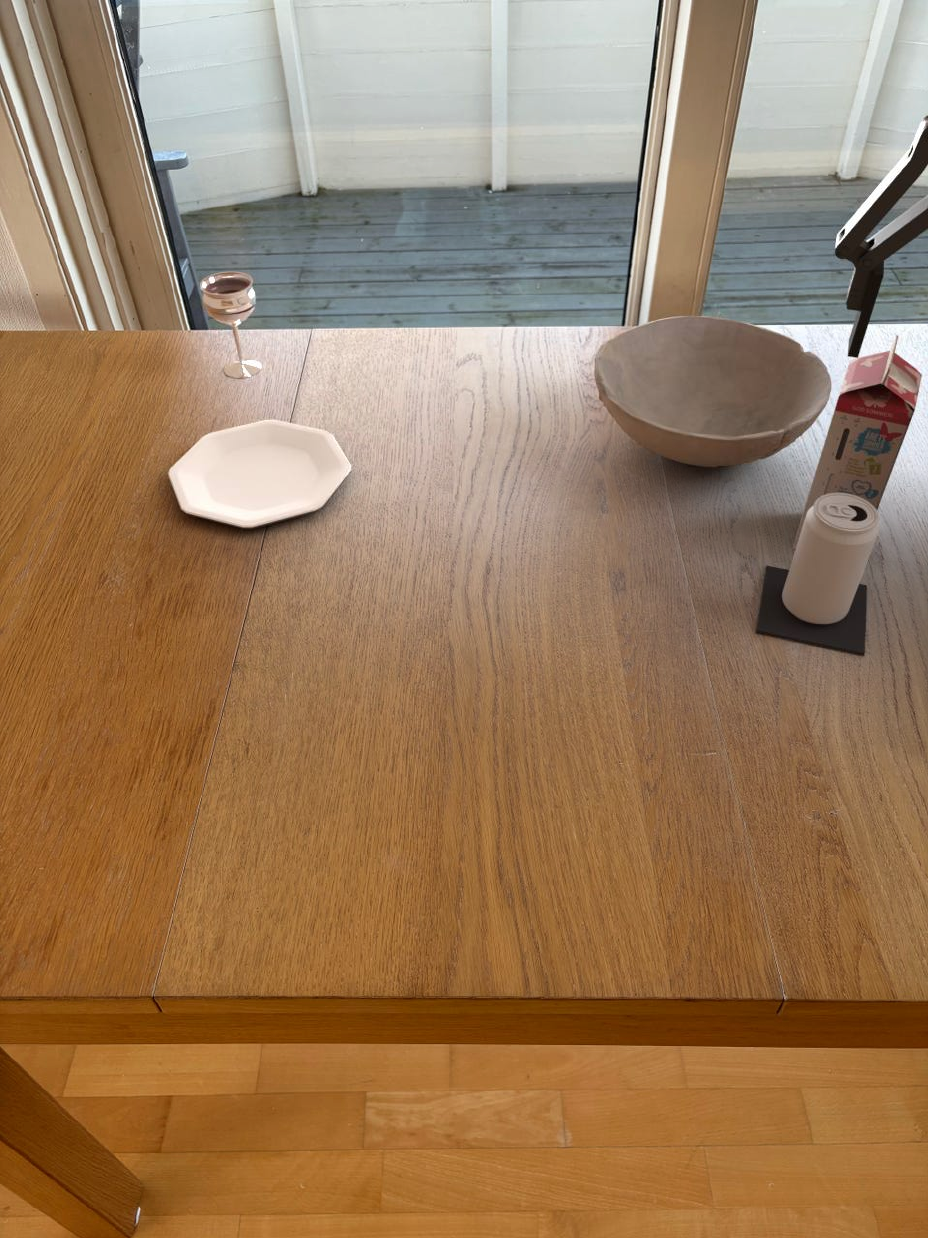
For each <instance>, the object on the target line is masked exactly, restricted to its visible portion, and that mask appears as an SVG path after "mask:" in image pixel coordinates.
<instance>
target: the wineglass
mask: <svg viewBox="0 0 928 1238" xmlns="http://www.w3.org/2000/svg"><path fill="white" fill-rule="evenodd" d="M253 282H254V280H253V277H251V275H249V274H247V273H245V272H240V271H221V272H216V273H213V274H210V275H208V276H206V277H204V278H203V279H202V280H201V281H200V283H199V289H200V290H201V292H203V293H202V295H201V299H202V305H203V307H204V310H205V311H206V313H207V314H208V315H209V316H210V317H211V318H212V319H214V320H216V321H217V322H219V323H221V324H225V325H228V326H229V327H231V331H232V334H233V338H234V342H235V347H236V351H237V355H238V359H237V360H234V361H231V362H229V363H227V364H226V366H225V367H224V369H223V371H224V374H225V375H226V376H228V377H230V378H235V379H245V378H249V377H250V378H251V377H252V376H255V375H256V374H258V373H259V372H260V371H261V369H262V365H261V363H260V362H259V361H257V360H254V359H250V358H243V354H242V353H243V352H242V347H241V340H240V332H239V325H240V324H241V323H243V322H244V321H246V320H247V319H249V317H250V316H251V315H252V314H253V312H254V311H255V309H256V304H257V301H258V299H257V294H256V291H255V289H254V288H253Z"/></svg>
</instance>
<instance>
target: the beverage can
mask: <svg viewBox="0 0 928 1238" xmlns="http://www.w3.org/2000/svg"><path fill="white" fill-rule="evenodd" d="M879 520H880V515H879V512H878V509H877V510H876V508H875V507H874V506H873V505H872V504H871V503H869V502H868V501H866V500H865V499H863V498H861V497H858V496H855V495H852V494H847V493H829V494H825V495H823V496H821V497H819V498H818V499H817V500H816V501H815V503H814V506H812V507H811V508H810V509H809V510H808V512H807V514H806V518H805V521H804V524H803V527H802V531H801V534H800V537H799V540H798V544H797V547H796V549H794V553H793V556H792V559H791V564H790V567H789V569H788V570H789V573H788V576H787V579H786V583H785V586H784V589H783V593H782V599H783V603H784V605H785V606H786V608H787V609H788V610H789V611H790V612H791V613H792V614H793V615H795V616H796V617H797V618H799V619H801V620H803V621H806V622H809V623H814V624H831V623H835V622H838V621H840V620H842V619H843V618H844V617H845V616H846V615H847V613H848V612H849V609H850V606H851V604H852V601H853V598H854V596H855V593H856V591H857V588H858V585H859V583H860V584H861V580H862V577H863V574H864V572H865V569H866V566H867V564H868V563H869V559H870V556H871V553H872V551H873V549H874V545H875V544H876V540H877V538H878V536H879V532H880V525H879Z"/></svg>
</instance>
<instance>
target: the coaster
mask: <svg viewBox="0 0 928 1238" xmlns="http://www.w3.org/2000/svg"><path fill="white" fill-rule="evenodd" d="M789 570H790V569H788V568H783V567H778V566H773V565H768V564H766V566H765V569H764V576H763V584H762V590H761V596H760V603H759V608H758V609H759V610H758V616H757V621H756V629H755V634H759V635H763V636H769V637H773V638H777V639H782V640H787V641H792V642H796V643H801V644H806V645H811V646H815V647H819V648H824V649H825V648H826V649H829V650H834V651H839V652H844V653H848V654H853V655H859V656H865V654H866V637H867V636H866V635H867V634H866V633H867V607H868V584H864V583H861V582H860V583H859V585H858V588H857V591H856V593H855V596H854V598H853V601H852V604H851V606H850V609H849V612H848V613H847V615H846V616H845V617H844V618H843V619H842V620H840V621H838V622H835V623H831V624H814V623H809V622H806V621H803V620H801V619H799V618H797V617H796V616H795V615H793V614H792V613H791V612H790V611H789V610H788V609H787V608H786V606H785V605H784V603H783V599H782V593H783V589H784V586H785V583H786V579H787V576H788V573H789Z"/></svg>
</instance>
